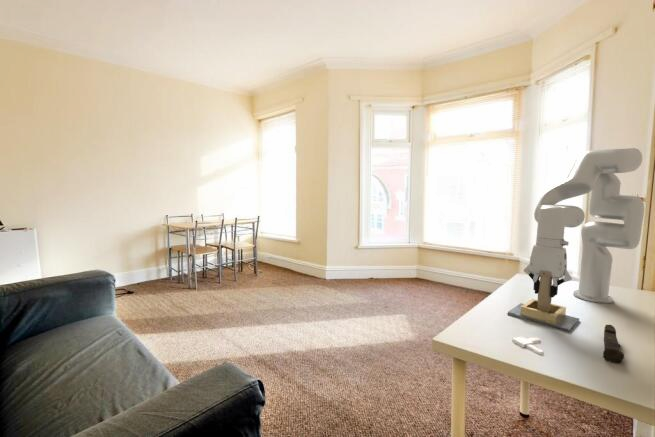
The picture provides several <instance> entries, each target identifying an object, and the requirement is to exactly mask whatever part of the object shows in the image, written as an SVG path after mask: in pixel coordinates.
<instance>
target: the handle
mask: <svg viewBox="0 0 655 437" xmlns="http://www.w3.org/2000/svg"><path fill="white" fill-rule="evenodd" d="M543 272H545V273H543ZM539 274H541V275H540V278H539V280H540V284H539V290H538V293H537V300H538V306H539V307H538V310H540V311H544V312H549V310H550V309H549V308H550V305H551V304H552V297H550V294H551V286H552V285H553V280H552V277H550V276H552V273H551V272H549V271H543V270H540V271H539Z"/></svg>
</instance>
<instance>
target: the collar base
mask: <svg viewBox="0 0 655 437" xmlns="http://www.w3.org/2000/svg"><path fill="white" fill-rule="evenodd" d="M538 307H539V306H538V299H534V298H531V299H530V300H528V301H526V302H525V303H522V302H520V303H519V304H517V305H516V306H514V307H513V308H511V309H510V310H508V311H507V316H511V317H514V318H518V319H520V320H525V321H529V322H531V323H535V324H538V325H541V326H545V327H548V328H551V329H555V330H559V331H562V332H565V333H570V332H571V331H572V330H573V329H574V328H575V327H576V325H578V324H579V322H580V318H578V317H575V316H571V315H567V314H566V312H567V307H566V306H562V305H557V304H553V303H551V305H550V308H549V309H550V310H549V312H544V311H540V310H538Z"/></svg>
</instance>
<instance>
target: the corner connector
mask: <svg viewBox="0 0 655 437" xmlns="http://www.w3.org/2000/svg"><path fill="white" fill-rule="evenodd" d="M511 342H513V343H515V344H516V345H518V346H520V347H521V348H526V349H528V350H529V351H531V352H534V353H535V354H538V355H544V350H542V349H541V348H538V347H537V346H534V344H535V345H536V344H538V343H541V339H540V338H539V337H530V338H526V337H524V336H518V337H517V336H516V337H512V340H511Z"/></svg>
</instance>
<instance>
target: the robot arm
mask: <svg viewBox="0 0 655 437" xmlns="http://www.w3.org/2000/svg"><path fill="white" fill-rule="evenodd" d="M642 162H643V154H642V152H641V150H640V149H638V148H635V147H629V148H626V147H625V148H611V149H610V148H609V149H595V150H587V151H585V152H582V153H581V154H579V156H578V157H577V158H576V160H575V162H574V164H573V166H572V167H571V169H570V172H569V174H568V175H567V177H566V179H565V180H564V181H562V182H560V183H558V184H557V185H555V186H553V187H551V188H550V189H549V190H547V191H546V192H545V193H544V194H542V196H541V198H540V200H538V203H537V205H536V207H535V210H534V213H533V214H534V220H535V222H536V223H537V229H536V240H535V244H534V245H533V246H532V248H531V249H532V250H531V254H530V258H529V263H528V265H527V266H526V267H524V269H523V272H524V273H525V274H526V275H528V277H529V278H530V279H531V280H532V282H533V290H534V294H536V295H538V290H539V284H540V275H541V274H539V271H540V270H543V271H549V272H551V273H552V276H550V277H552V286H551V294H550V297H552V298H554V297H556V296H557V295H558V290H559V286H560V285H561V284H563V283H567V282H570V281H571V280H572V279H573V278H572V276H571V275H570V273H569V272H568V261H567V260H568V258H567V257H568V256H567V254H568V253H567V249H566V247H565V246H569V244H570V243H569V241H566V240H565V238H564V237H565V228H577V227H579V226H581V225H582V224H583V222H584V220H585V218H586V216H585V212H584V209H582V208H581V207H579V206H575V205H567V204H566V205H565V204H558V203H560V202H563V201H565V200H569V199H572V198H576V197H579V196H582V195H586V194H588V193H590V192H591V193H590V198H589V199H590V201H589V210H588V211H589V214H590V216H591V217H594V218H596V219H602V220H603V219H606V220H617V221H623V223H618V222H617V223H616V222H608V221H607V222H605V221H589V222H586V223H584V224H583V226H582V227H581V230H580V231H581V243H582V244H581V246H582V250H581V262H580V263H581V264H580V272H579V281H578V282H579V283H578V289H577V290H574V291H573V295H574V296H575V297H577V298H578V299H581V300H584V301H587V302H592V303H597V304H598V303H599V304H611V303H613V302H614V298H613V297H612V296H610V295H609V294H610V293H609V292H610V286H611V285H610V283H611V276H612V268H613V266H612V265H613V256H612V253H611V252H610V250H609V249H608V248H613V249H615V248H616V249H622V250H634V249H636V248H637V247H638V246H639V245H640V241H641V235H642V228H643V221H644V215H645V204H644V200H643V199H642V198H641V197H639V196H638V195H637V196H636V195H624V194H623V195H622V194H620V192H621V184H622V183H621V180H620V179H619V177H618V176H617V175H616V174H625V173H630V172H635V171H637V169H639V168H640V166H642ZM607 247H608V248H607ZM543 273H545V272H543ZM560 278H561V279H560ZM552 298H551V299H552Z"/></svg>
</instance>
